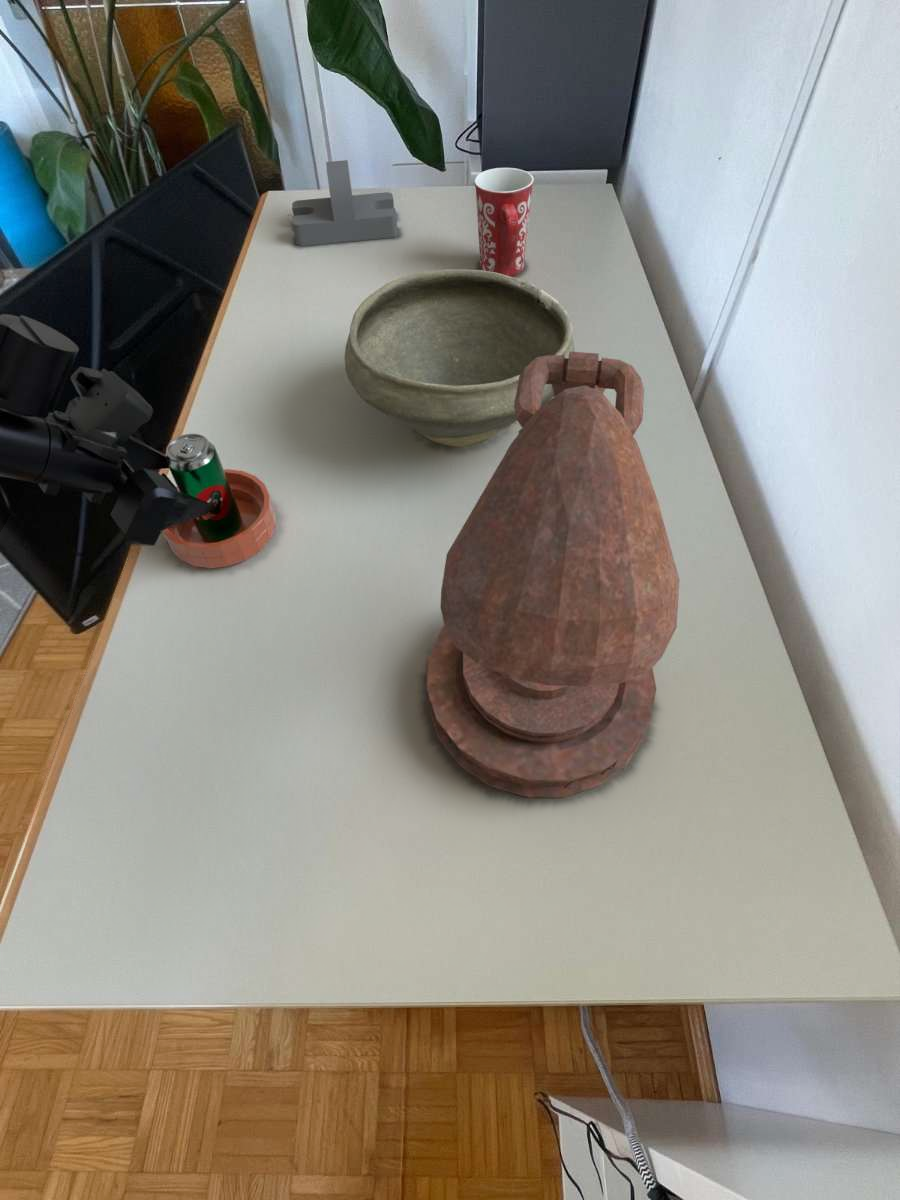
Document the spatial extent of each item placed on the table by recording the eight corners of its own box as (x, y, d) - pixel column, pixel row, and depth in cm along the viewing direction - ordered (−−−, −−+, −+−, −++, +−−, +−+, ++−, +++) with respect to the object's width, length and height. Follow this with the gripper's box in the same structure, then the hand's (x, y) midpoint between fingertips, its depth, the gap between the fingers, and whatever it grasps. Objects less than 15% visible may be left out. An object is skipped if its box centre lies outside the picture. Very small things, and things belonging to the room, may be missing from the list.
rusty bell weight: (389, 861, 58) (283, 532, 26) (453, 567, 77) (438, 168, 45) (648, 904, 55) (885, 598, 23) (648, 589, 74) (779, 182, 42)
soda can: (251, 517, 81) (221, 435, 72) (230, 548, 79) (196, 467, 69) (213, 508, 82) (179, 426, 73) (191, 538, 80) (152, 458, 70)
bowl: (475, 524, 80) (475, 427, 69) (312, 429, 92) (289, 331, 81) (607, 405, 93) (625, 306, 82) (449, 334, 104) (446, 238, 93)
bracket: (398, 236, 123) (392, 169, 115) (296, 246, 122) (282, 179, 113) (393, 212, 129) (387, 147, 120) (296, 221, 128) (283, 156, 119)
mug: (471, 255, 118) (471, 168, 108) (524, 251, 119) (529, 164, 108) (479, 294, 111) (479, 205, 100) (535, 290, 111) (542, 200, 100)
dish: (165, 577, 77) (151, 553, 74) (177, 500, 84) (165, 475, 81) (276, 564, 78) (267, 540, 75) (278, 488, 85) (270, 464, 82)
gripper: (112, 420, 54) (268, 465, 67) (30, 322, 63) (181, 378, 76) (60, 538, 58) (218, 559, 70) (-11, 428, 67) (141, 465, 79)
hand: (189, 485), depth 74 cm, fingers open, 9 cm apart
